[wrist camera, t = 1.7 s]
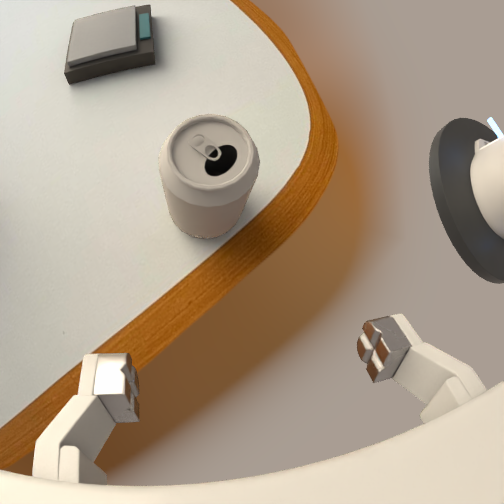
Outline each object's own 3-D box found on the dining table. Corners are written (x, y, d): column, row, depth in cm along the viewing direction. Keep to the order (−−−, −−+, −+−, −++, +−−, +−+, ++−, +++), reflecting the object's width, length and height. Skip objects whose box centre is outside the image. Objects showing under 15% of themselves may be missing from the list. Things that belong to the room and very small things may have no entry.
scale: (151, 15, 37) (150, -1, 34) (155, 64, 36) (153, 46, 32) (76, 33, 35) (71, 17, 32) (69, 84, 33) (61, 68, 30)
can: (211, 255, 32) (220, 220, 20) (154, 211, 32) (133, 156, 20) (255, 199, 34) (284, 143, 22) (199, 159, 34) (203, 89, 22)
